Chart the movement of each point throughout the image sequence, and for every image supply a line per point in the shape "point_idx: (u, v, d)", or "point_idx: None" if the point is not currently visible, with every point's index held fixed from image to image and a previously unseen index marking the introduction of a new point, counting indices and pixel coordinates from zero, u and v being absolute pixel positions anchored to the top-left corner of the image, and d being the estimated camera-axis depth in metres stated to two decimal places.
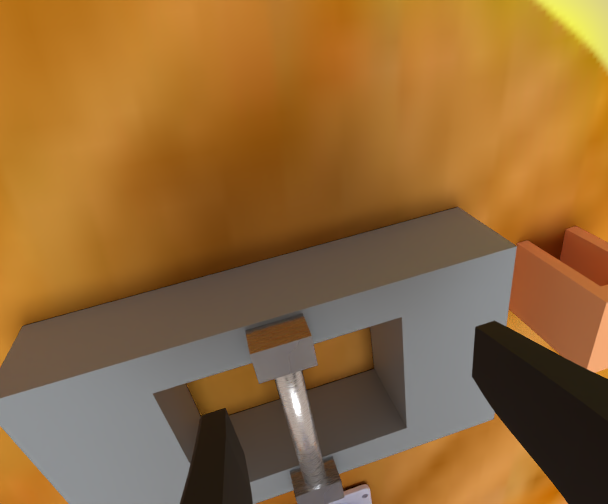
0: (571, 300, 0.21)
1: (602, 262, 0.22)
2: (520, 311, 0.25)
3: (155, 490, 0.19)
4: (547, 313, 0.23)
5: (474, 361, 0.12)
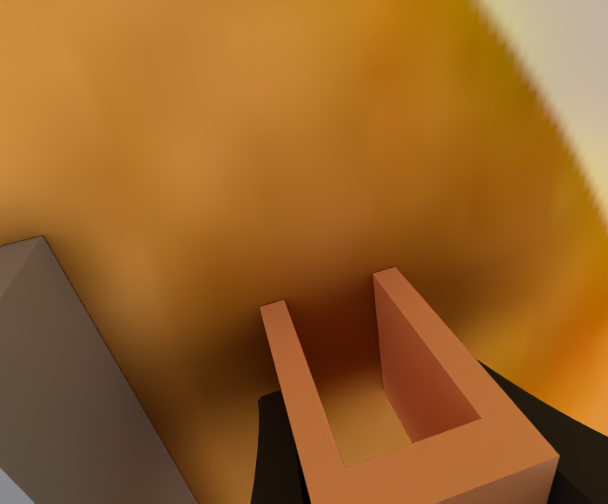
0: None
1: (420, 360, 0.10)
2: None
3: None
4: None
5: None
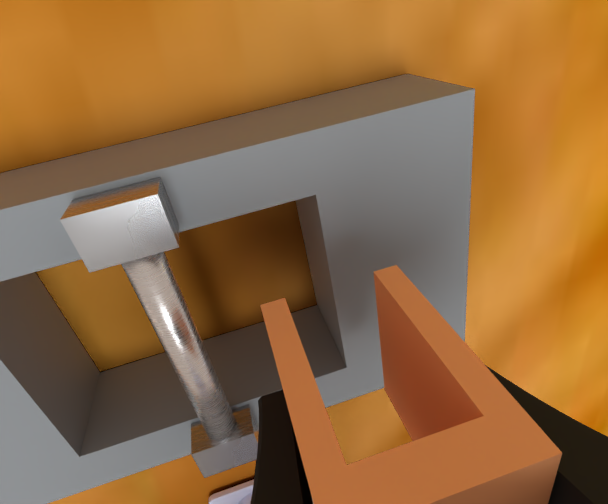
0: None
1: (421, 358, 0.10)
2: None
3: None
4: None
5: None
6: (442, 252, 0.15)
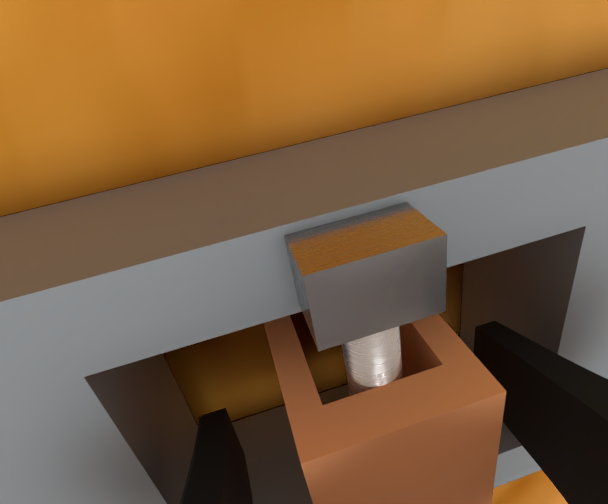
0: None
1: None
2: None
3: None
4: None
5: None
6: None
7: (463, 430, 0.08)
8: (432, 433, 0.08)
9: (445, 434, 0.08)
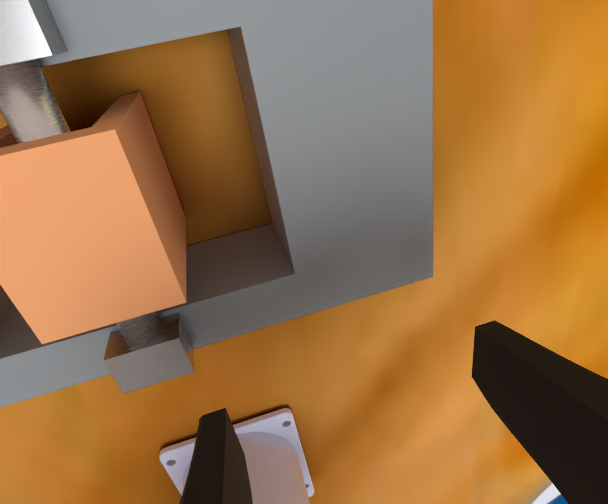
0: None
1: None
2: None
3: None
4: None
5: (474, 361, 0.12)
6: (402, 128, 0.13)
7: (90, 169, 0.09)
8: (56, 166, 0.09)
9: (71, 170, 0.09)
